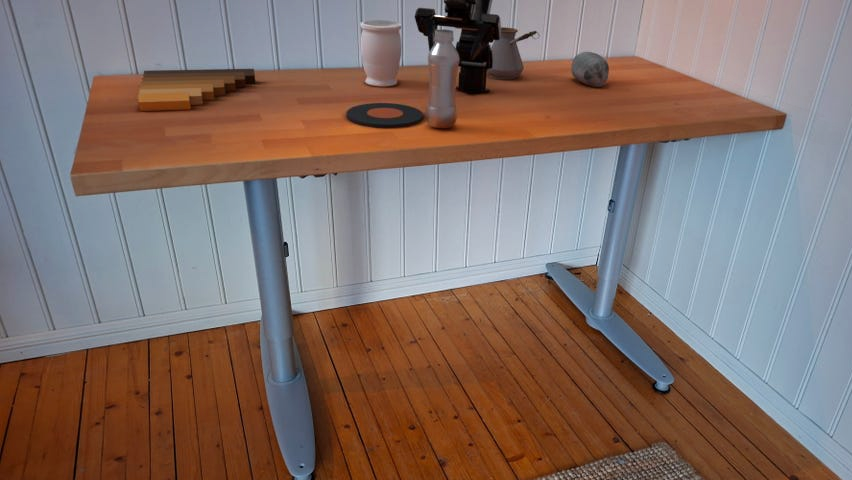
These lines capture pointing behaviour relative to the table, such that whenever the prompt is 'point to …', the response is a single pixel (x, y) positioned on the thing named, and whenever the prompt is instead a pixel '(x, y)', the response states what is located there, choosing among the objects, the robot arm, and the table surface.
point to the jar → (381, 51)
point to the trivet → (385, 115)
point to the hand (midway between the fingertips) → (451, 56)
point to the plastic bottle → (442, 81)
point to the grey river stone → (590, 69)
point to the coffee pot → (507, 55)
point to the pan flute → (188, 87)
